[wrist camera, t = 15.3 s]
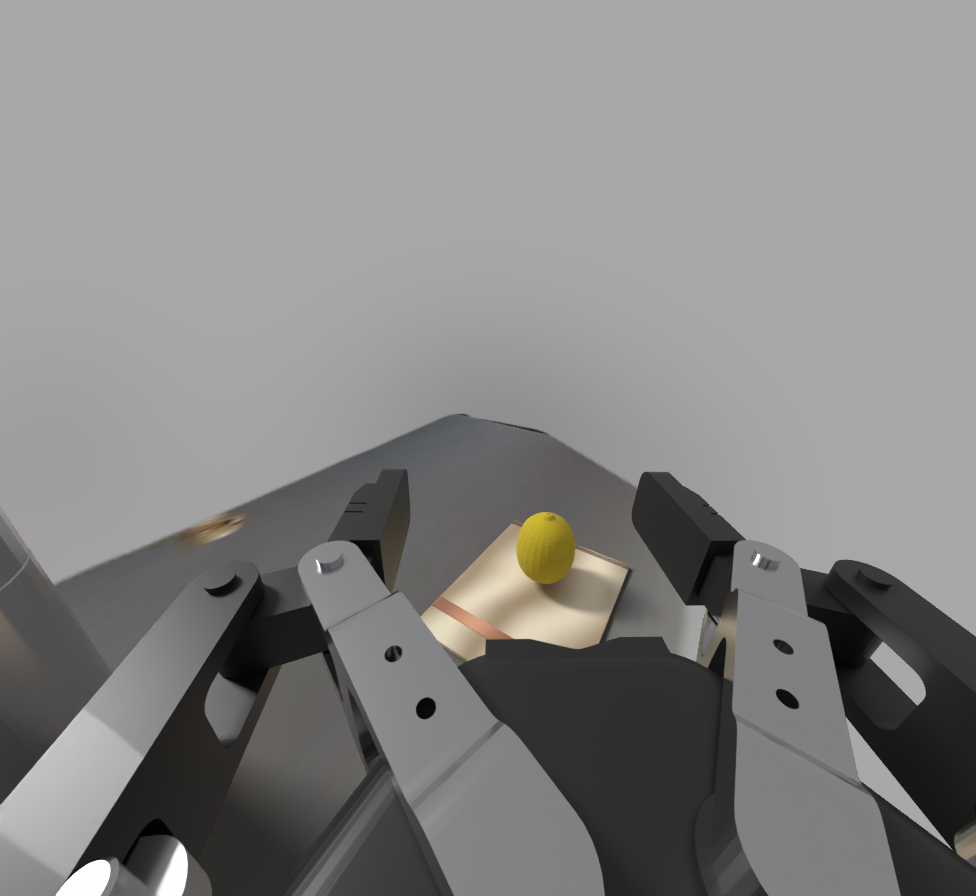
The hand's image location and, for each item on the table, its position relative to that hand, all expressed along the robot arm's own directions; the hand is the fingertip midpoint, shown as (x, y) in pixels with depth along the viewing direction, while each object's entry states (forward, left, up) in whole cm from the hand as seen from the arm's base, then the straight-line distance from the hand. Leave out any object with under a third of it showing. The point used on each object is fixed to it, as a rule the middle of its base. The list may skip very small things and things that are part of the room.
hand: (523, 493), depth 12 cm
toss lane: (-5, +14, -21) cm, 26 cm away
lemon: (-5, +16, -20) cm, 26 cm away
